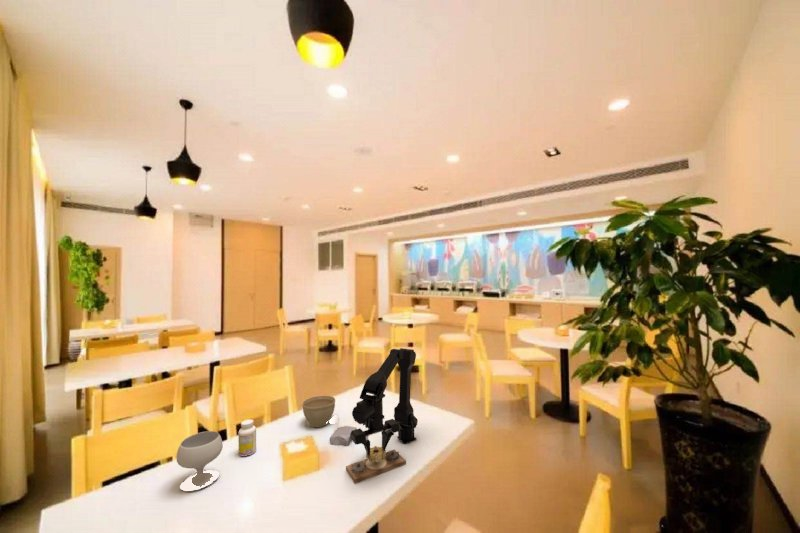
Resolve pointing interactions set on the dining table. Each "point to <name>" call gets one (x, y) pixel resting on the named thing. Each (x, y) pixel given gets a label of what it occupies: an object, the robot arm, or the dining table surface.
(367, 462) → the gear board
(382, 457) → the wooden gear
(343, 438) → the stone block
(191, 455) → the chalice
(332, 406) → the planter bowl
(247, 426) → the supplement bottle
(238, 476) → the dining table surface
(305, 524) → the dining table surface
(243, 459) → the dining table surface
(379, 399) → the robot arm
